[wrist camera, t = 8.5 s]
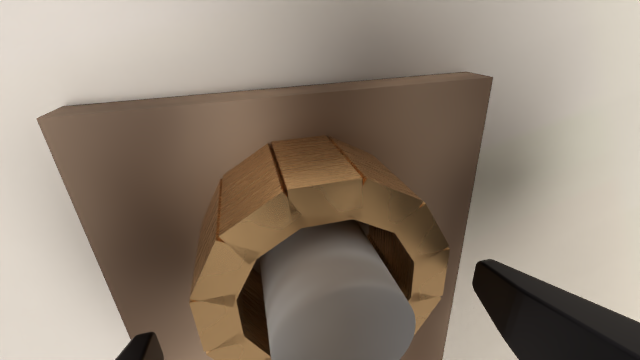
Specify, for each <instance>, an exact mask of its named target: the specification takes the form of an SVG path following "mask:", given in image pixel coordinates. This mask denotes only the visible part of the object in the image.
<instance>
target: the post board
mask: <svg viewBox="0 0 640 360" xmlns="http://www.w3.org/2000/svg"><path fill="white" fill-rule="evenodd" d="M492 80H493V77H490V76H485V75H479V74H474V73H469V72H459V73H447V74H436V75H424V76H412V77H401V78H389V79H377V80H366V81H354V82H342V83H331V84H319V85H307V86H296V87H284V88H272V89H261V90H249V91H237V92H226V93H214V94H202V95H190V96H179V97H167V98H155V99H144V100H132V101H120V102H109V103H97V104H85V105H74V106H62V107H60V108H58V109H56V110H54V111H52V112H49V113H47V114H45V115H43V116H41V117H39V118H37V121H38V123H39V126H40V128H41V130H42V133H43V135H44V138H45V140H46V142H47V145H48V147H49V149H50V152H51V154H52V156H53V159H54V161H55V163H56V166H57V168H58V170H59V173H60V175H61V177H62V180H63V182H64V184H65V187H66V189H67V191H68V194H69V196H70V198H71V201H72V203H73V205H74V208H75V210H76V212H77V215H78V217H79V219H80V222H81V224H82V226H83V229H84V231H85V233H86V236H87V238H88V241H89V243H90V245H91V248H92V250H93V252H94V255H95V257H96V259H97V262H98V264H99V266H100V269H101V271H102V273H103V276H104V278H105V280H106V283H107V285H108V287H109V290H110V292H111V294H112V297H113V299H114V301H115V304H116V306H117V308H118V311H119V313H120V315H121V318H122V320H123V322H124V325H125V327H126V329H127V332H128V334H129V336H130V339H131V340H132V339H133V338H134V337H135V336H136V335H138V334H142V333H147V332H154V333H155V334H156V335H157V338H158V341H159V343H160V346H161V349H162V351H163V355H164V360H214V359H212V358H211V357H209V356H208V355H206V351H205V352H204V350H203V347H202V344H201V341H200V337H199V334H198V331H197V327H196V324H195V321H194V317H193V314H192V311H191V307H190V304H189V301H190V293H191V286H192V280H193V274H194V267H195V261H196V255H197V248H198V242H199V236H200V229H201V223H202V221H203V218H204V216H205V214H206V211H207V209H208V207H209V204H210V202H211V199H212V197H213V195H214V192H215V190H216V188H217V185H218V183H219V180H220V178H221V179H223V175H224V174H225V173H227V172H228V171H230V170H231V169H232V168H234V167H235V166H237V165H238V164H239V163H241V162H242V161H244V160H245V159H246V158H248V157H249V156H251V155H252V154H253V153H255V152H256V151H258V150H259V149H260V148H262V147H263V146H265V145H266V144H267V143H268V144H269V145H270V147H271V148H272V143H271V142H274V141H282V140H290V139H298V138H306V137H315V136H323V135H326V136H327V137H329V136H331V137H333V138H336V139H338V140H340V141H342V142H345V143H347V144H349V145H351V146H354V147H356V148H358V149H360V150H363V151H365V152H367V153H369V154H372V155H373V156H374V157H376V158H377V159H378V160H379V161H380V162H381V163H382V164H383V165H384V166H385V167H386V168H388V169H389V170H390V171H391V172H392V173H393V174H394V175H395V176H396V177H397V178H398V179H400V180H401V181H402V182H403V183H404V184H405V185H406V186H407V187H408V188H409V189H410V190H412V191H413V192H414V193H415V194H416V195H417V196H418V197H419V198H420V199H421V200H423V201H424V202H425V203H426V205H427V206H428V208H429V210H430V212H431V214H432V215H433V217H434V219H435V221H436V223H437V224H438V226H439V228H440V230H441V232H442V233H443V235H444V237H445V239H446V241H447V242H448V244H449V247H448V248H449V249H450V252H449V258H448V265H447V271H446V278H445V284H444V291H443V296H440V297H441V300H440V301H439V302H438V304H437V305H436V307H435V308H434V309H433V311H432V312H431V313H430V315H429V316H428V317H427V319H426V320H425V322H424V323H423V324H422V326H421V327H420V328H419V330H418V331H417V333H416V334H415V335H414V332H415V325H416V320H415V314H414V311H413V309H412V307H411V305H410V304H409V302H408V301H407V299H406V297H405V296H404V294H403V293H402V291H401V290H400V288H399V286H398V285H397V283H396V282H395V280H394V279H393V277H392V276H391V274H390V272H389V271H388V269H387V268H386V266H385V265H384V263H383V261H382V260H381V258H380V257H379V255H378V254H377V252H376V250H375V249H374V247H373V246H372V244H371V243H370V241H369V240H368V238H367V235H368V234H369V224H366V223H363V222H360V221H357V220H354V219H351V220H346V221H340V222H334V223H329V224H323V225H317V226H312V227H306V228H301V229H299V230H298V231H297V232H295V233H294V234H292V235H291V236H289V237H288V238H286V239H285V240H284V241H282V242H281V243H279V244H278V245H276V246H275V247H274V248H272V249H271V250H269V251H268V252H266V253H265V254H263V255H262V256H261V257H259V258H258V259H256V261H255V263H254V265H253V267H252V268H253V269H254V270H255V271H256V272H257V273H259V274H260V275H261V276H262V285H263V294H264V302H265V311H266V319H267V328H268V336H269V345H270V354H271V360H442V357H443V352H444V346H445V341H446V335H447V330H448V324H449V319H450V313H451V308H452V302H453V296H454V291H455V285H456V280H457V274H458V269H459V263H460V258H461V252H462V246H463V241H464V235H465V230H466V224H467V219H468V213H469V208H470V202H471V197H472V191H473V185H474V180H475V174H476V169H477V163H478V158H479V152H480V147H481V141H482V135H483V130H484V124H485V119H486V113H487V108H488V102H489V97H490V91H491V86H492ZM413 336H414V337H413Z"/></svg>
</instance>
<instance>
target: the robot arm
mask: <svg viewBox="0 0 640 360" xmlns="http://www.w3.org/2000/svg"><path fill="white" fill-rule="evenodd" d="M472 284H473V288H474V291H475V292H476V294H477V296H478V297H479V299H480V301H481V302H482V304H483V306H484V307H485V309H486V311H487V312H488V314H489V316H490V317H491V319H492V321H493V322H494V324H495V326H496V327H497V329H498V331H499V332H500V334H501V335H502V337H503V338H504V340H505V341H506V343H507V344H508V345H509V347H510V348H511V350H512V351H513V352H514V354H515V355H516V356H517V358H518V359H519V360H640V323H639V322H637V321H635V320H633V319H630V318H628V317H626V316H623V315H621V314H619V313H616V312H614V311H612V310H609V309H607V308H605V307H602V306H600V305H598V304H595V303H593V302H591V301H588V300H586V299H584V298H581V297H579V296H577V295H574V294H572V293H569V292H567V291H565V290H562V289H560V288H558V287H555V286H553V285H551V284H548V283H546V282H544V281H541V280H539V279H537V278H534V277H532V276H530V275H527V274H525V273H523V272H520V271H518V270H516V269H513V268H511V267H509V266H506V265H504V264H502V263H499V262H497V261H495V260H492V259H488V260H483V261H479V262H478V263H477V264H476V267H475V272H474V277H473V282H472ZM115 360H164V355H163V351H162V349H161V346H160V343H159V341H158V338H157V335H156V334H155V333H154V332H147V333H142V334H138V335H136V336H135V337H134V338H133V339H132V340H131V341H130V342H129V344H128V345H127V346H126V347H125V348H124V350H123V351H122V352H121V353H120V354H119V356H118V357H117V358H116V359H115Z"/></svg>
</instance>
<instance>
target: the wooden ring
mask: <svg viewBox="0 0 640 360" xmlns="http://www.w3.org/2000/svg"><path fill="white" fill-rule="evenodd" d="M271 143H272V148H271V147H270V145H269V144H268V143H267V144H266V145H265V146H263V147H262V148H260V149H259V150H258V151H256V152H255V153H253V154H252V155H251V156H249V157H248V158H246V159H245V160H244V161H242V162H241V163H239V164H238V165H237V166H235V167H234V168H232V169H231V170H230V171H228V172H227V173H225V174H224V175H223V179H221V178H220V180H219V183H218V185H217V188H216V190H215V192H214V195H213V197H212V199H211V202H210V204H209V207H208V209H207V211H206V214H205V216H204V218H203V221H202V223H201V229H200V236H199V242H198V248H197V255H196V261H195V267H194V274H193V280H192V286H191V293H190V301H189V304H190V307H191V311H192V314H193V317H194V321H195V324H196V327H197V331H198V334H199V337H200V341H201V344H202V347H203V350H204V352H205V351H206V355H208V356H209V357H211V358H212V359H214V360H271V354H270V345H269V336H268V328H267V319H266V311H265V302H264V294H263V285H262V276H261V275H260V274H259V273H257V272H256V271H255V270H254V269H253V268H252V267H253V265H254V263H255V261H256V259H258V258H259V257H261V256H262V255H263V254H265V253H266V252H268V251H269V250H271V249H272V248H274V247H275V246H276V245H278V244H279V243H281V242H282V241H284V240H285V239H286V238H288V237H289V236H291V235H292V234H294V233H295V232H297V231H298V230H299V229H301V228H306V227H312V226H317V225H323V224H329V223H334V222H340V221H346V220H351V219H354V220H357V221H360V222H363V223H366V224H369V234H368V235H367V238H368V240H369V241H370V243H371V244H372V246H373V247H374V249H375V250H376V252H377V254H378V255H379V257H380V258H381V260H382V261H383V263H384V265H385V266H386V268H387V269H388V271H389V272H390V274H391V276H392V277H393V279H394V280H395V282H396V283H397V285H398V286H399V288H400V290H401V291H402V293H403V294H404V296H405V297H406V299H407V301H408V302H409V304H410V305H411V307H412V309H413V311H414V314H415V320H416V325H415V332H414V335H415V334H416V333H417V331H418V330H419V328H420V327H421V326H422V324H423V323H424V322H425V320H426V319H427V317H428V316H429V315H430V313H431V312H432V311H433V309H434V308H435V307H436V305H437V304H438V302H439V301H440V300H441V297H440V296H443V291H444V284H445V278H446V271H447V265H448V258H449V252H450V249H449V248H448V247H449V244H448V242H447V241H446V239H445V237H444V235H443V233H442V232H441V230H440V228H439V226H438V224H437V223H436V221H435V219H434V217H433V215H432V214H431V212H430V210H429V208H428V206H427V205H426V203H425V202H424V201H423V200H421V199H420V198H419V197H418V196H417V195H416V194H415V193H414V192H413V191H412V190H410V189H409V188H408V187H407V186H406V185H405V184H404V183H403V182H402V181H401V180H400V179H398V178H397V177H396V176H395V175H394V174H393V173H392V172H391V171H390V170H389V169H388V168H386V167H385V166H384V165H383V164H382V163H381V162H380V161H379V160H378V159H377V158H376V157H374V156H373V155H372V154H369V153H367V152H365V151H363V150H360V149H358V148H356V147H354V146H351V145H349V144H347V143H345V142H342V141H340V140H338V139H336V138H333V137H331V136H329V137H327V136H326V135H323V136H315V137H306V138H298V139H290V140H282V141H274V142H271ZM413 337H414V336H413Z"/></svg>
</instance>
